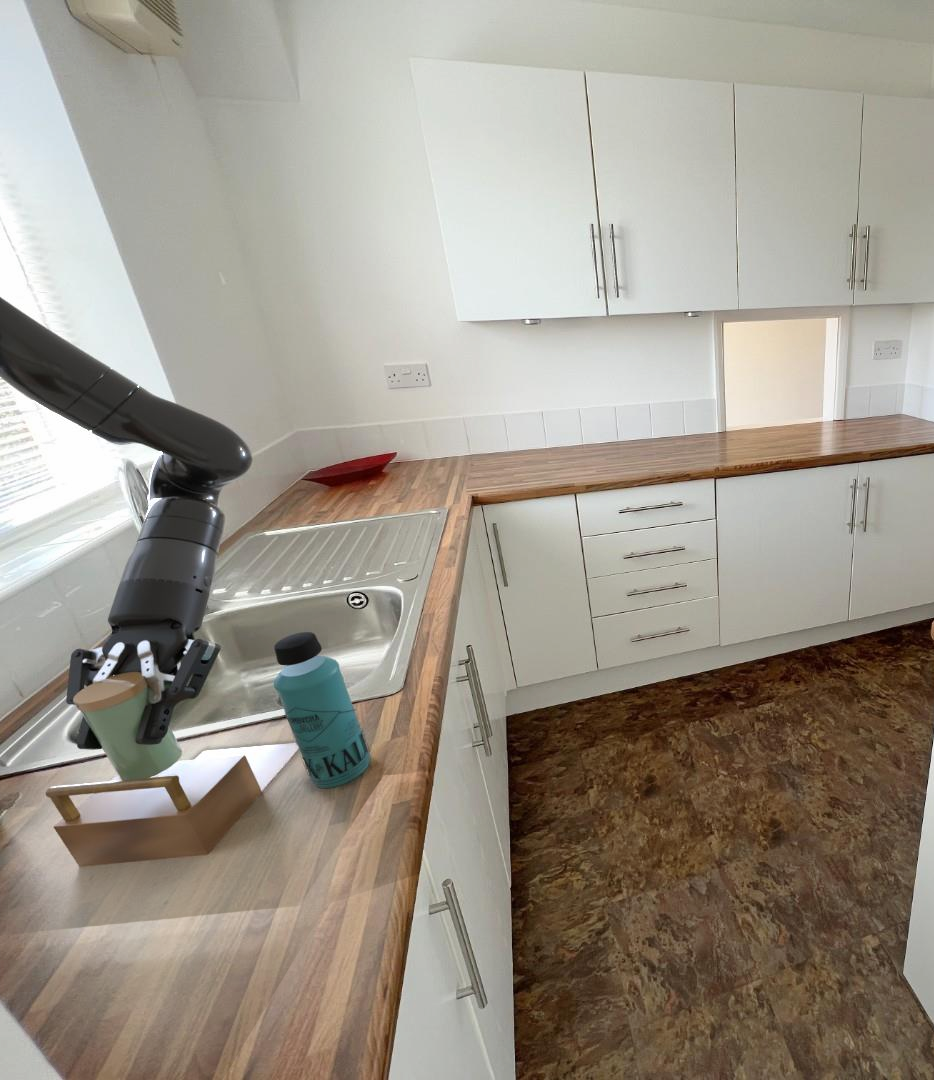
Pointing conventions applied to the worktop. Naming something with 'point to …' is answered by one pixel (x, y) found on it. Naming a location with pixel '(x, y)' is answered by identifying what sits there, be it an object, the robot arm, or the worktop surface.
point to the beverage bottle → (319, 712)
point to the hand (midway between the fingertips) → (119, 745)
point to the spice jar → (125, 726)
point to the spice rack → (166, 806)
